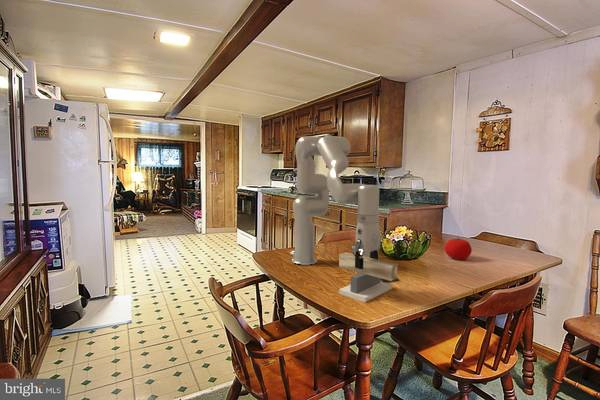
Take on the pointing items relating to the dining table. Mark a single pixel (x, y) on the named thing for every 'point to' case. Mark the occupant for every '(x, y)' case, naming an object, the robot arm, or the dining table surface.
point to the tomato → (458, 249)
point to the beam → (369, 266)
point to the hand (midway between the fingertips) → (366, 265)
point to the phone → (388, 280)
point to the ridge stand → (365, 287)
